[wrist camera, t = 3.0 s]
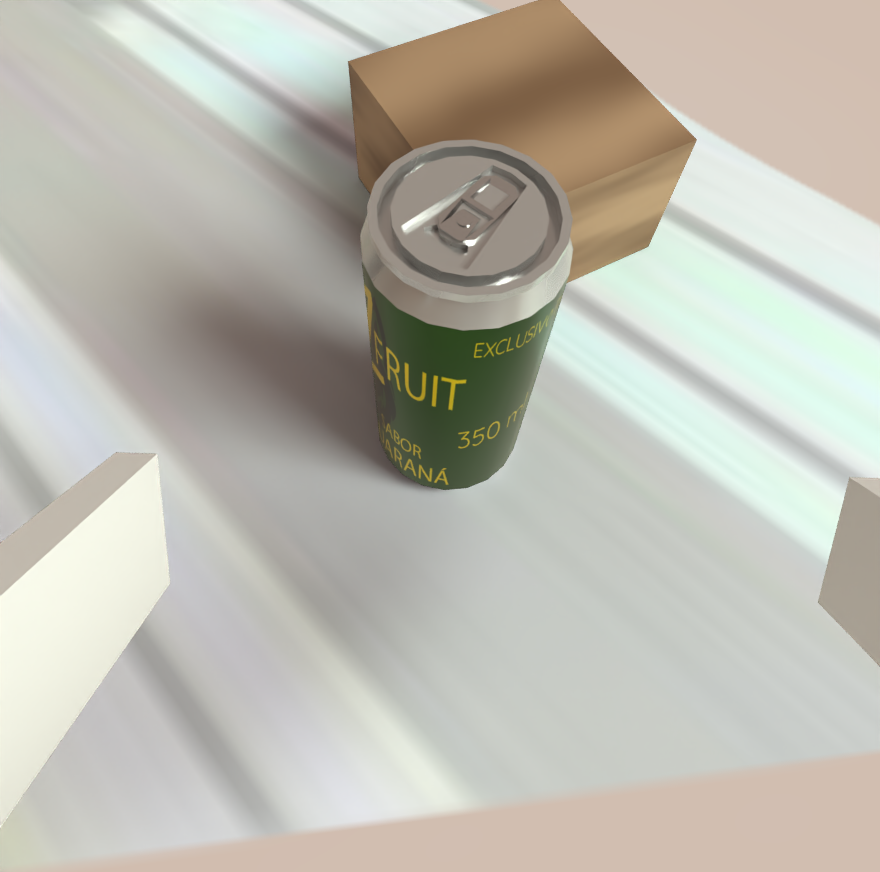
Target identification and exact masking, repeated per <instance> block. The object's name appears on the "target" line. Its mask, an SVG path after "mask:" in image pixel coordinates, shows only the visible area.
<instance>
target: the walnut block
mask: <svg viewBox="0 0 880 872" xmlns="http://www.w3.org/2000/svg"><path fill="white" fill-rule="evenodd" d="M348 65H349V76H350V87H351V98H352V109H353V120H354V131H355V142H356V153H357V164H358V175H359V178H360V180H361V181H362V183H363V184H364V186H365V187H366V189H367V190H368V192H369V193H370V195H371V192H372V189H373V186H374V184H375V182H376V181H377V180H378V178H379V177H380V176H381V175H382V174H383V173H384V171H385V170H386V169H387V168H388V167H389V165H390V164H391V163H393V162H394V161H396V160H398V159H399V158H401V157H402V156H404V155H406V154H407V153H409V152H411V151H412V150H414V149H416V148H420V147H423V146H427V145H430V144H434V143H437V142H441V141H451V140H478V141H484V142H490V143H495V144H501V145H504V146H507V147H509V148H511V149H513V150H516V151H518V152H520V153H523V154H525V155H527V156H530V157H531V158H532V159H534V160H535V161H536V162H537V163H539V164H540V165H541V166H543V167H544V168H545V169H546V170H548V171H549V172H550V173H552V175H553V176H554V178H555V179H556V180H557V182H558V183H559V185H560V186H561V188H562V189H563V191H564V192H565V193H566V195H567V198H568V202H569V206H570V210H571V214H572V218H573V221H572V227H571V233H570V237H571V241H572V245H573V254H572V260H571V267H570V273H569V277H568V280H567V283H568V282H570V281H572V280H575V279H577V278H579V277H581V276H584V275H586V274H588V273H590V272H593V271H595V270H597V269H599V268H602V267H604V266H606V265H608V264H610V263H613V262H615V261H617V260H619V259H622V258H624V257H626V256H628V255H631V254H633V253H635V252H637V251H640V250H642V249H644V248H646V247H648V246H649V244H650V242H651V239H652V237H653V235H654V233H655V231H656V228H657V226H658V224H659V222H660V220H661V217H662V215H663V213H664V211H665V209H666V206H667V204H668V202H669V200H670V198H671V195H672V193H673V191H674V189H675V187H676V184H677V182H678V180H679V178H680V176H681V173H682V171H683V169H684V167H685V165H686V162H687V160H688V158H689V156H690V154H691V151H692V149H693V147H694V145H695V143H696V141H697V139H696V138H695V137H694V136H693V135H692V134H691V133H690V132H689V131H688V130H687V129H686V128H685V127H684V126H683V125H682V124H681V123H680V122H679V121H678V120H677V119H676V118H675V117H674V116H673V115H672V114H671V113H670V112H669V111H668V110H667V109H666V108H665V107H664V106H663V105H662V104H661V103H660V102H659V101H658V100H657V99H656V98H655V97H654V96H653V95H652V94H651V93H650V92H649V91H648V90H647V89H646V88H645V87H644V85H643V84H642V83H641V82H640V81H639V80H638V79H637V78H636V77H635V76H634V75H633V74H632V73H631V72H629V70H628V69H627V68H626V67H625V66H624V65H623V64H622V63H621V62H620V61H619V60H618V59H617V58H616V57H615V56H614V55H613V54H612V53H611V52H610V51H609V50H608V49H607V48H606V47H605V46H604V45H603V44H602V43H601V42H600V41H599V40H598V39H597V38H596V37H595V36H594V35H593V34H592V33H591V32H590V31H589V30H588V29H587V28H586V27H585V25H584V24H582V22H581V21H580V20H579V19H578V18H577V17H576V16H575V15H574V14H573V13H571V11H570V10H569V9H568V8H567V7H566V6H565V5H564V4H563V3H562V2H561V1H560V0H538V1H534V2H531V3H528V4H525V5H522V6H519V7H516V8H513V9H510V10H506V11H503V12H500V13H497V14H494V15H491V16H488V17H485V18H482V19H478V20H475V21H472V22H469V23H466V24H463V25H460V26H457V27H454V28H450V29H447V30H444V31H441V32H438V33H435V34H432V35H429V36H426V37H422V38H419V39H416V40H413V41H410V42H407V43H404V44H401V45H398V46H394V47H391V48H388V49H385V50H382V51H379V52H376V53H373V54H370V55H366V56H363V57H360V58H357V59H354V60H351V61H348Z"/></svg>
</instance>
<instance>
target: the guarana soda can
mask: <svg viewBox="0 0 880 872" xmlns="http://www.w3.org/2000/svg"><path fill="white" fill-rule="evenodd" d="M572 221H573V218H572V214H571V210H570V206H569V202H568V198H567V195H566V193H565V192H564V191H563V189H562V188H561V186H560V185H559V183H558V182H557V180H556V179H555V178H554V176H553V175H552V173H550V172H549V171H548V170H546V169H545V168H544V167H543V166H541V165H540V164H539V163H537V162H536V161H535V160H534V159H532V158H531V157H530V156H527V155H525V154H523V153H520V152H518V151H516V150H513V149H511V148H509V147H507V146H504V145H501V144H495V143H490V142H484V141H478V140H451V141H441V142H437V143H434V144H430V145H427V146H423V147H420V148H416V149H414V150H412V151H411V152H409V153H407V154H406V155H404V156H402V157H401V158H399V159H398V160H396V161H394V162H393V163H391V164H390V165H389V167H388V168H387V169H386V170H385V171H384V173H383V174H382V175H381V176H380V177H379V178H378V180H377V181H376V182H375V184H374V186H373V189H372V192H371V195H370V198H369V201H368V204H367V216H366V219H365V222H364V225H363V228H362V231H361V234H360V241H361V254H362V266H363V276H364V286H365V296H366V307H367V317H368V327H369V337H370V347H371V357H372V367H373V377H374V387H375V397H376V407H377V418H378V428H379V438H380V442H381V444H382V446H383V449H384V451H385V453H386V455H387V458H388V459H389V460H390V461H391V463H392V464H393V465H394V466H395V467H396V468H397V469H398V470H399V471H400V472H401V473H402V474H403V475H405V476H406V477H408V478H410V479H412V480H414V481H416V482H417V483H419V484H421V485H424V486H428V487H433V488H438V489H443V490H449V489H460V488H468V487H470V486H473V485H475V484H478V483H480V482H483V481H485V480H487V479H489V478H490V477H491V476H492V475H493V474H494V473H496V472H497V471H498V470H499V469H500V468H501V467H503V466H504V464H505V462H506V460H507V459H508V457H509V455H510V454H511V452H512V450H513V448H514V445H515V442H516V439H517V436H518V433H519V430H520V427H521V423H522V420H523V417H524V414H525V411H526V408H527V405H528V402H529V399H530V395H531V392H532V389H533V386H534V383H535V380H536V377H537V374H538V370H539V367H540V364H541V361H542V358H543V355H544V352H545V349H546V346H547V342H548V339H549V336H550V333H551V330H552V327H553V324H554V321H555V317H556V314H557V311H558V308H559V305H560V302H561V299H562V296H563V293H564V289H565V286H566V283H567V280H568V277H569V273H570V267H571V260H572V254H573V245H572V241H571V237H570V233H571V227H572Z"/></svg>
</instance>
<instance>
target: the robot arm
mask: <svg viewBox="0 0 880 872" xmlns="http://www.w3.org/2000/svg"><path fill="white" fill-rule="evenodd" d="M169 584H170V575H169V565H168V555H167V545H166V535H165V525H164V516H163V506H162V496H161V486H160V476H159V466H158V456H157V454H147V453H117V452H116V453H115V454H113V455H112V456H111V457H109V458H108V459H107V460H106V461H104V462H103V463H102V464H101V465H99V466H98V467H97V468H95V469H94V470H93V471H92V472H90V473H89V474H88V475H87V476H85V477H84V478H83V479H81V480H80V481H79V482H78V483H76V484H75V485H74V486H72V487H71V488H70V489H69V490H67V491H66V492H65V493H64V494H62V495H61V496H60V497H58V498H57V499H56V500H55V501H53V502H52V503H51V504H50V505H48V506H47V507H46V508H44V509H43V510H42V511H41V512H39V513H38V514H37V515H35V516H34V517H33V518H32V519H30V520H29V521H28V522H27V523H25V524H24V525H23V526H21V527H20V528H19V529H18V530H16V531H15V532H14V533H13V534H11V535H10V536H9V537H7V538H6V539H5V540H4V541H2V542H1V543H0V828H1V827H2V825H3V824H4V822H5V821H6V819H7V818H8V816H9V815H10V814H11V812H12V811H13V809H14V808H15V806H16V805H17V803H18V802H19V801H20V799H21V798H22V796H23V795H24V793H25V792H26V790H27V789H28V788H29V786H30V785H31V783H32V782H33V780H34V779H35V777H36V776H37V775H38V773H39V772H40V770H41V769H42V767H43V766H44V764H45V763H46V762H47V760H48V759H49V757H50V756H51V754H52V753H53V752H54V750H55V749H56V747H57V746H58V744H59V743H60V741H61V740H62V739H63V737H64V736H65V734H66V733H67V731H68V730H69V728H70V727H71V726H72V724H73V723H74V721H75V720H76V718H77V717H78V715H79V714H80V713H81V711H82V710H83V708H84V707H85V705H86V704H87V702H88V701H89V700H90V698H91V697H92V695H93V694H94V692H95V691H96V689H97V688H98V687H99V685H100V684H101V682H102V681H103V679H104V678H105V676H106V675H107V674H108V672H109V671H110V669H111V668H112V666H113V665H114V664H115V662H116V661H117V659H118V658H119V656H120V655H121V653H122V652H123V651H124V649H125V648H126V646H127V645H128V643H129V642H130V640H131V639H132V638H133V636H134V635H135V633H136V632H137V630H138V629H139V627H140V626H141V625H142V623H143V622H144V620H145V619H146V617H147V616H148V614H149V613H150V612H151V610H152V609H153V607H154V606H155V604H156V603H157V601H158V600H159V599H160V597H161V596H162V594H163V593H164V591H165V590H166V588H167V587H168V586H169ZM818 603H819V604H820V605H821V606H822V607H823V608H824V609H825V610H826V611H827V612H828V613H829V614H830V615H831V616H832V617H833V618H834V620H835V621H836V622H837V623H838V624H839V625H840V626H841V627H842V628H843V629H844V630H845V631H846V632H847V633H848V634H849V635H850V636H851V637H852V638H853V639H854V640H855V641H856V642H857V643H858V644H859V645H860V646H861V647H862V649H863V650H864V651H865V652H866V653H867V654H868V655H869V656H870V657H871V658H872V659H873V660H874V661H875V662H876V663H877V664H878V665H879V666H880V478H856V477H849V481H848V485H847V489H846V493H845V497H844V501H843V505H842V509H841V513H840V517H839V521H838V525H837V529H836V533H835V537H834V541H833V544H832V548H831V552H830V556H829V560H828V564H827V568H826V572H825V576H824V580H823V584H822V588H821V592H820V596H819V600H818Z"/></svg>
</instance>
